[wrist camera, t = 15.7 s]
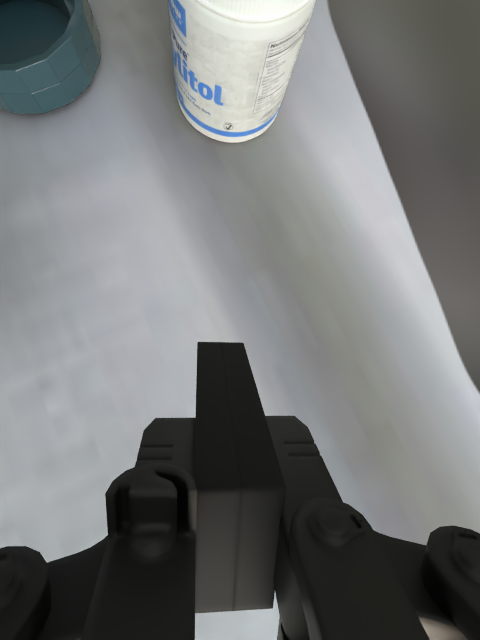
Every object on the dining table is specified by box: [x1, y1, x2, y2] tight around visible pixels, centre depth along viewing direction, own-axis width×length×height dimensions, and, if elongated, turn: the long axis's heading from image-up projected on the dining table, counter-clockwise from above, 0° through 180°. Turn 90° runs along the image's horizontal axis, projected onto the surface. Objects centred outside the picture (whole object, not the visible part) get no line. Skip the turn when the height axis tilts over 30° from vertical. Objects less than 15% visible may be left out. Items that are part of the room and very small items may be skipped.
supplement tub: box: [168, 0, 316, 143], centre depth 27 cm, size 10×10×15 cm
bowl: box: [0, 0, 100, 114], centre depth 30 cm, size 12×12×6 cm
